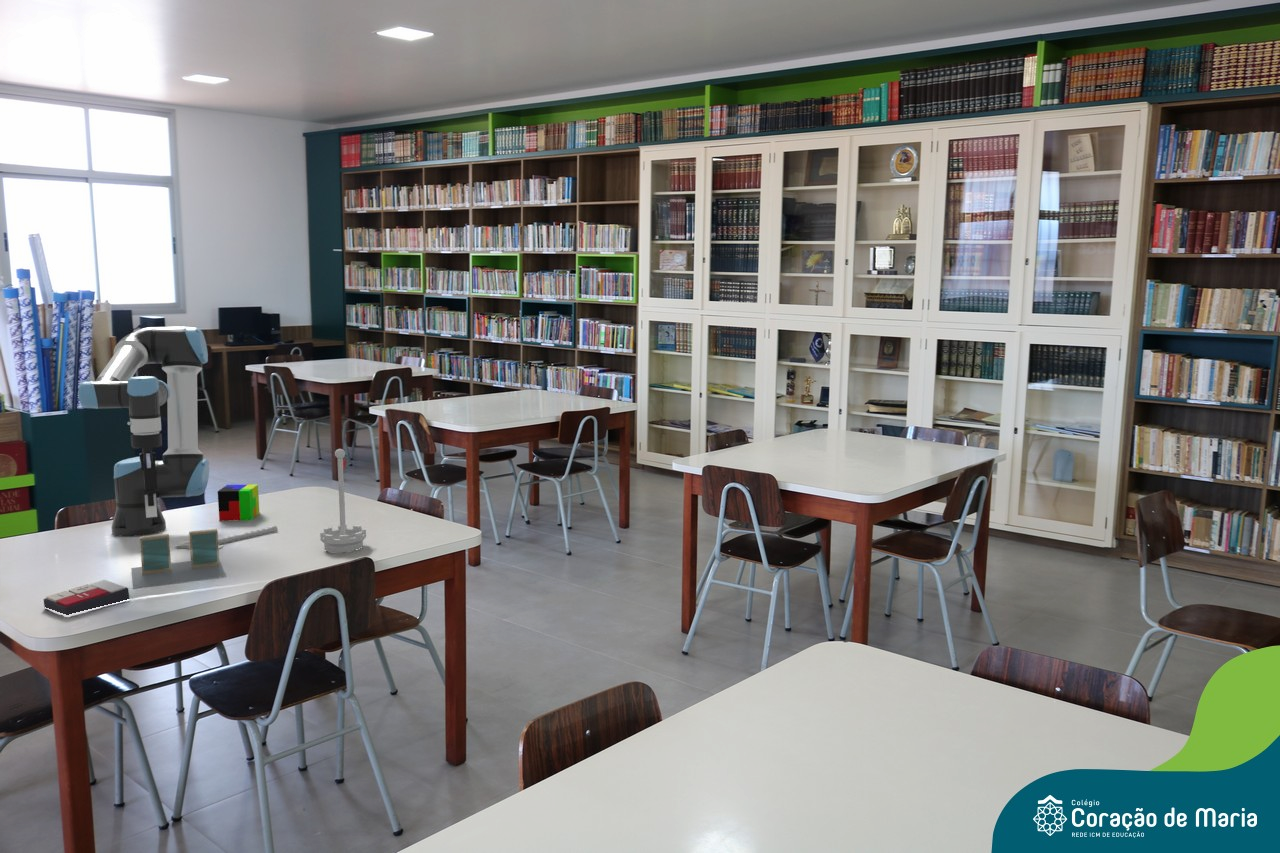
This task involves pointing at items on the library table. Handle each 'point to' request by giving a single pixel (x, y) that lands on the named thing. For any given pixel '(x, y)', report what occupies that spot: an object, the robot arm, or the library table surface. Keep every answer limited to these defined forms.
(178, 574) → the mat
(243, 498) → the puzzle toy
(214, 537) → the tile
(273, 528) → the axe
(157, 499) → the robot arm
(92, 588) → the black red flat box
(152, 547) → the tile
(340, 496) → the flag stand
